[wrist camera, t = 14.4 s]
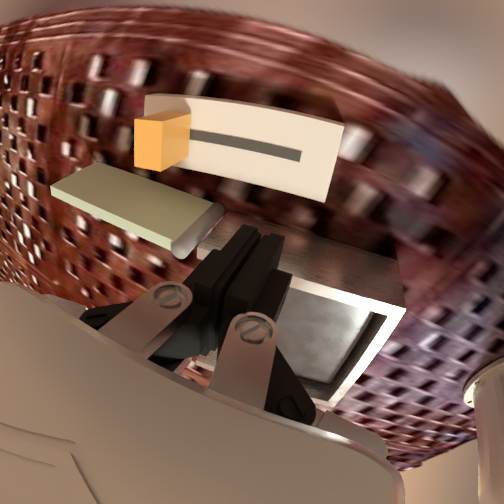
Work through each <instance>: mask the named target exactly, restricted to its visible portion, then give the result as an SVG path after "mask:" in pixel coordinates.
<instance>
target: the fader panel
mask: <svg viewBox="0 0 504 504" xmlns="http://www.w3.org/2000/svg"><path fill="white" fill-rule="evenodd" d="M163 111H172V112H182V113H191V125H190V138H189V153H188V157H187V158H185V159H183V160H181V161H179V162H177V163H176V164H174V165H172V166H175V167H180V168H185V169H190V170H195V171H200V172H204V173H209V174H214V175H218V176H223V177H227V178H231V179H236V180H240V181H244V182H248V183H252V184H256V185H260V186H264V187H268V188H272V189H276V190H280V191H284V192H287V193H291V194H295V195H299V196H302V197H306V198H309V199H313V200H316V201H320V202H323V203H325V200H326V196H327V192H328V189H329V185H330V181H331V178H332V174H333V170H334V166H335V162H336V158H337V154H338V150H339V146H340V142H341V138H342V134H343V130H344V123H341V122H338V121H334V120H330V119H326V118H322V117H318V116H314V115H310V114H306V113H301V112H297V111H292V110H288V109H283V108H278V107H272V106H267V105H261V104H255V103H249V102H243V101H236V100H229V99H221V98H212V97H203V96H192V95H180V94H163V93H157V94H151V95H145V107H144V116H147V115H151V114H155V113H159V112H163Z"/></svg>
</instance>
